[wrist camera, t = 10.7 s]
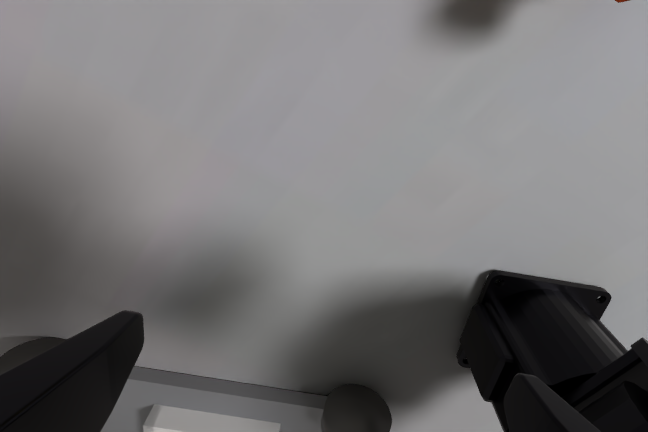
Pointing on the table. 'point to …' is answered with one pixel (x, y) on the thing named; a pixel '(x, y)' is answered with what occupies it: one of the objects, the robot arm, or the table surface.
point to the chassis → (225, 403)
